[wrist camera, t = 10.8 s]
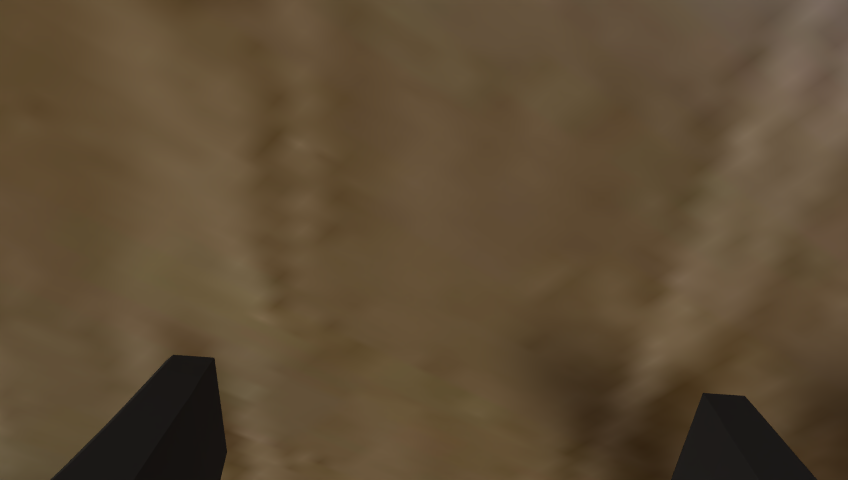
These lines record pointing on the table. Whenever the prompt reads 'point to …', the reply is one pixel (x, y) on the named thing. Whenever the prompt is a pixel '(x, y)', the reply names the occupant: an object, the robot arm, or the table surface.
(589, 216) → the table surface
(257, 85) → the table surface
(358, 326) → the table surface
